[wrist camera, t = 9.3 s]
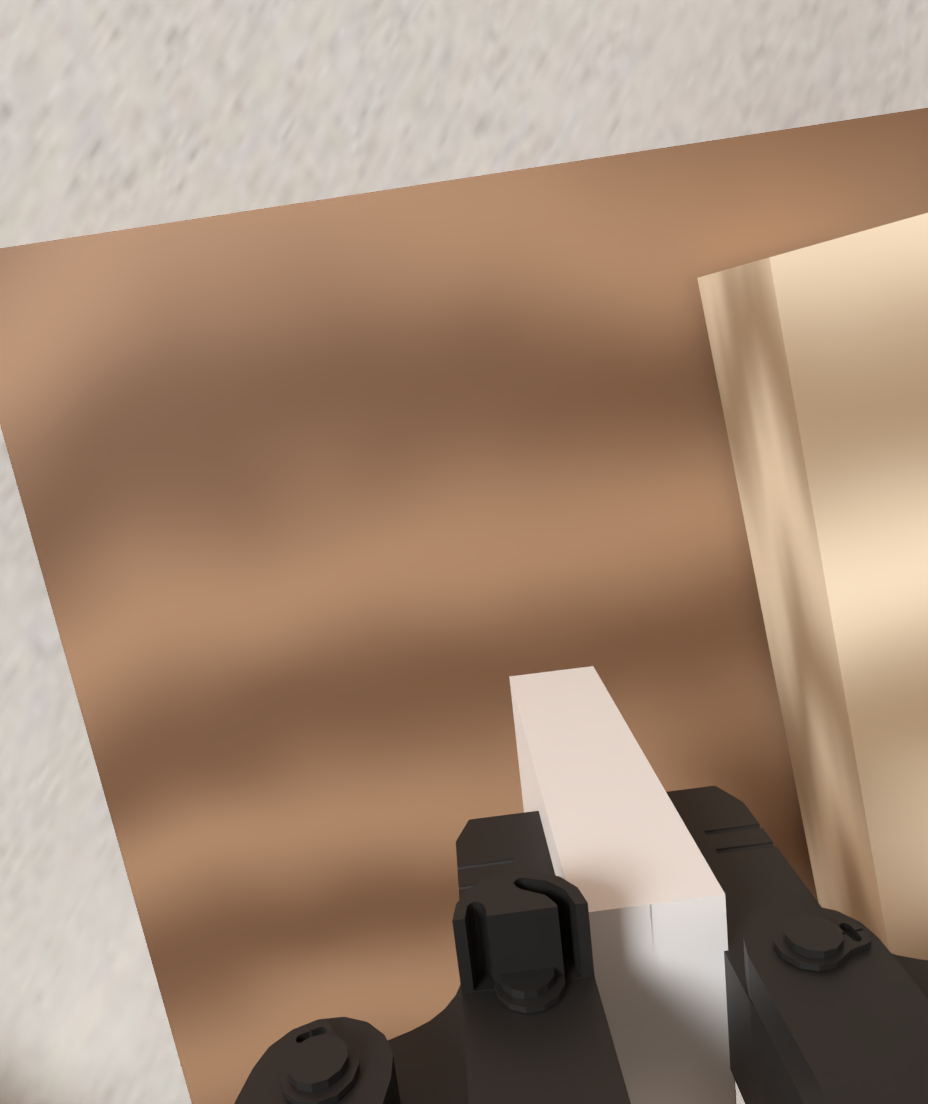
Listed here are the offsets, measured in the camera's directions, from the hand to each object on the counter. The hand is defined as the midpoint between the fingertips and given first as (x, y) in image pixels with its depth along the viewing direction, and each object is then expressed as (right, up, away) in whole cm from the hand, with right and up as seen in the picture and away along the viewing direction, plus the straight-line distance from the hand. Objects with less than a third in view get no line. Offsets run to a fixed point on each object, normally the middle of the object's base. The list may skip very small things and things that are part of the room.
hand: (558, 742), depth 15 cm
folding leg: (+8, +1, +6) cm, 10 cm away
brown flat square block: (+1, +1, +9) cm, 9 cm away
